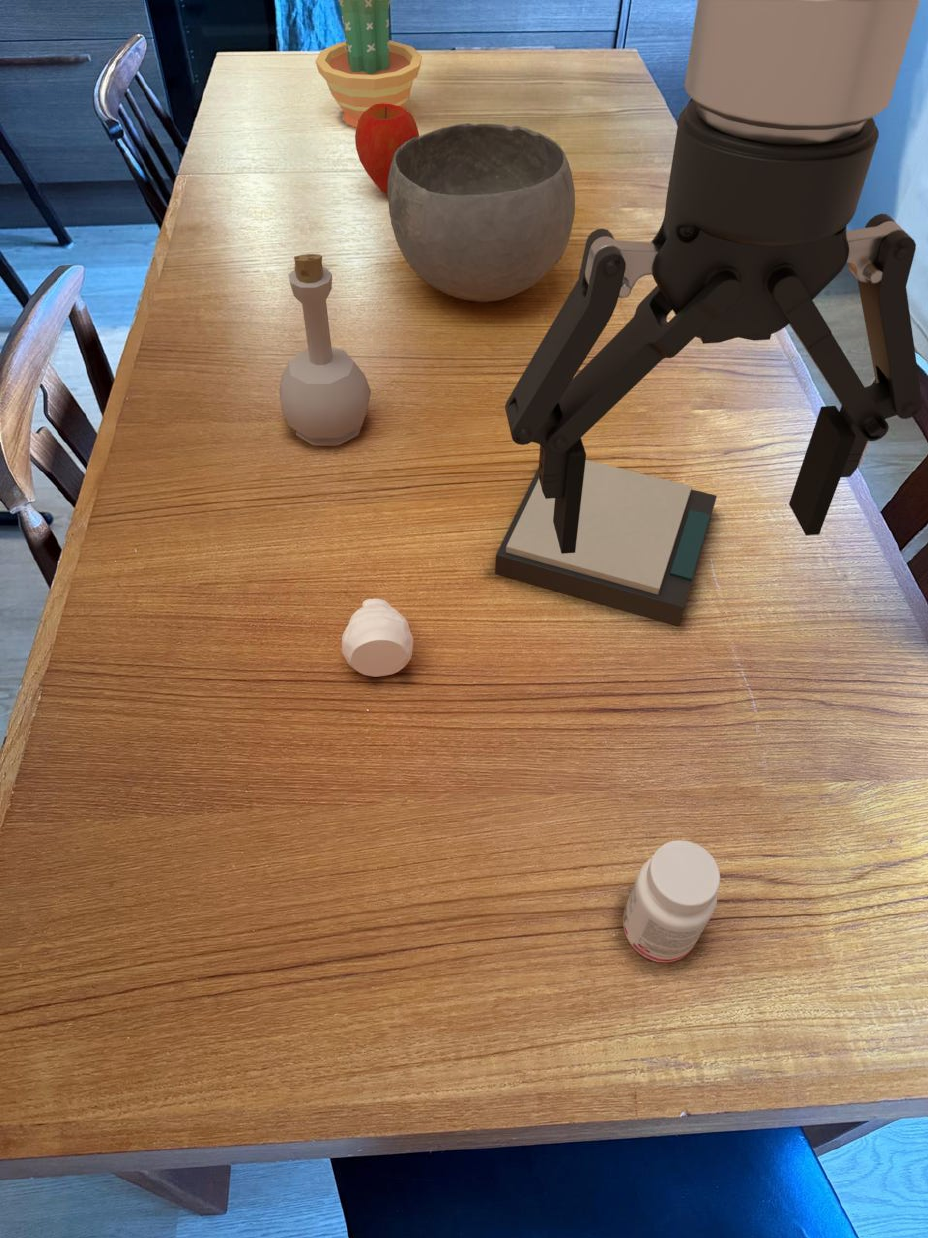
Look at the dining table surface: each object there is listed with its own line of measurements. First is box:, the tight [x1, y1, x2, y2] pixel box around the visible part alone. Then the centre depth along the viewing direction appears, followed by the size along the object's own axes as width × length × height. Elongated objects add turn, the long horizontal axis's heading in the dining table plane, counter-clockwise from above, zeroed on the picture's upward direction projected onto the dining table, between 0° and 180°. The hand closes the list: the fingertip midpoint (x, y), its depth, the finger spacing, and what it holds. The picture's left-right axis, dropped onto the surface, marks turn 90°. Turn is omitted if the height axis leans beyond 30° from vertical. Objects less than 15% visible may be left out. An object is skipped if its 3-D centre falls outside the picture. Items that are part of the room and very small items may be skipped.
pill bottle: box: [622, 839, 721, 963], centre depth 54 cm, size 5×5×8 cm
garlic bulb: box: [341, 597, 414, 678], centre depth 69 cm, size 6×6×6 cm
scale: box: [494, 459, 718, 627], centre depth 78 cm, size 16×14×3 cm
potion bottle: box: [279, 253, 372, 447], centre depth 82 cm, size 9×9×18 cm
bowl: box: [386, 122, 576, 303], centre depth 100 cm, size 20×20×15 cm
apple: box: [354, 103, 420, 195], centre depth 116 cm, size 9×8×11 cm
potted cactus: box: [315, 0, 423, 128], centre depth 126 cm, size 15×15×25 cm
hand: (684, 528), depth 50 cm, fingers open, 13 cm apart
